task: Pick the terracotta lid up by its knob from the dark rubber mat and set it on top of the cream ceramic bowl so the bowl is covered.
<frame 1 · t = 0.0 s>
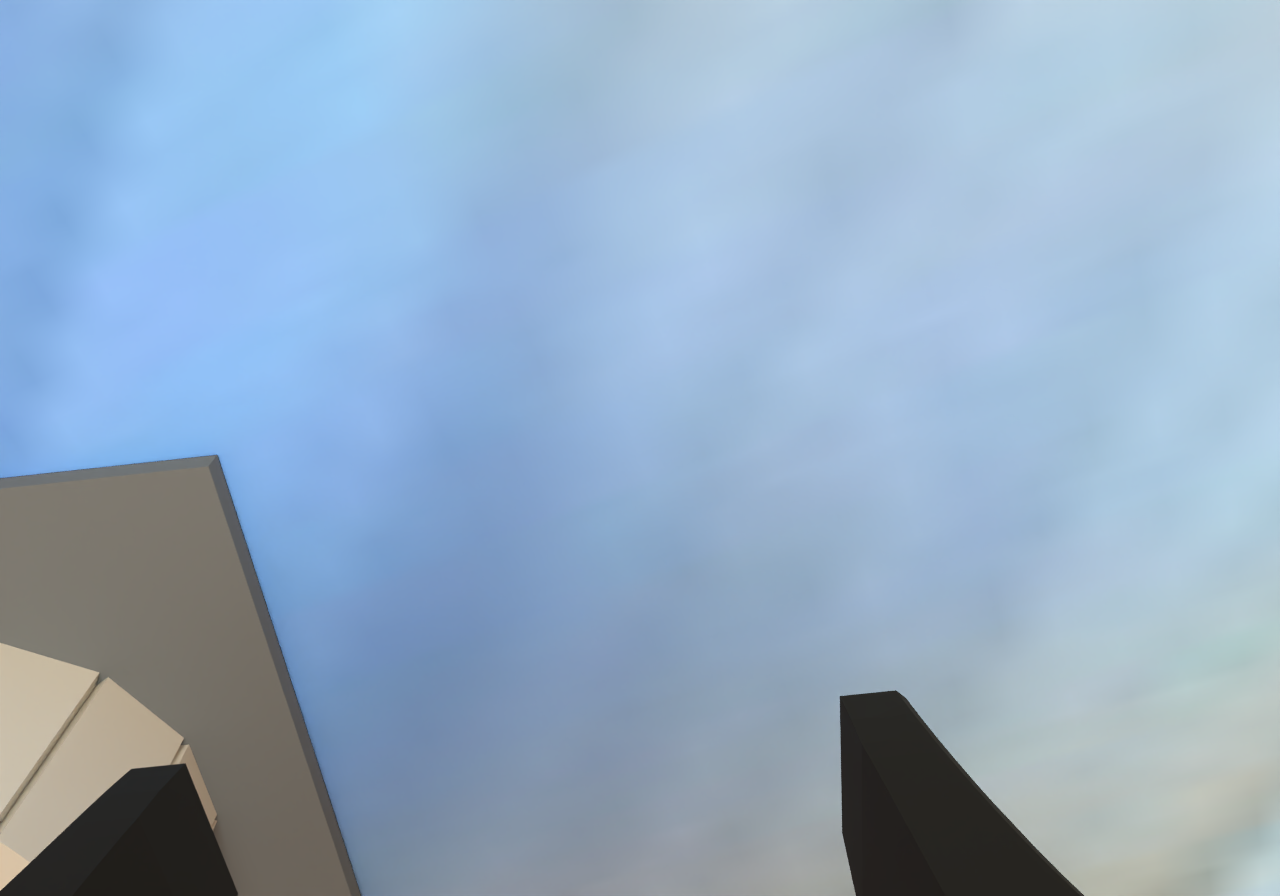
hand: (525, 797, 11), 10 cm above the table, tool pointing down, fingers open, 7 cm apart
bowl: (13, 799, 23), resting on mat
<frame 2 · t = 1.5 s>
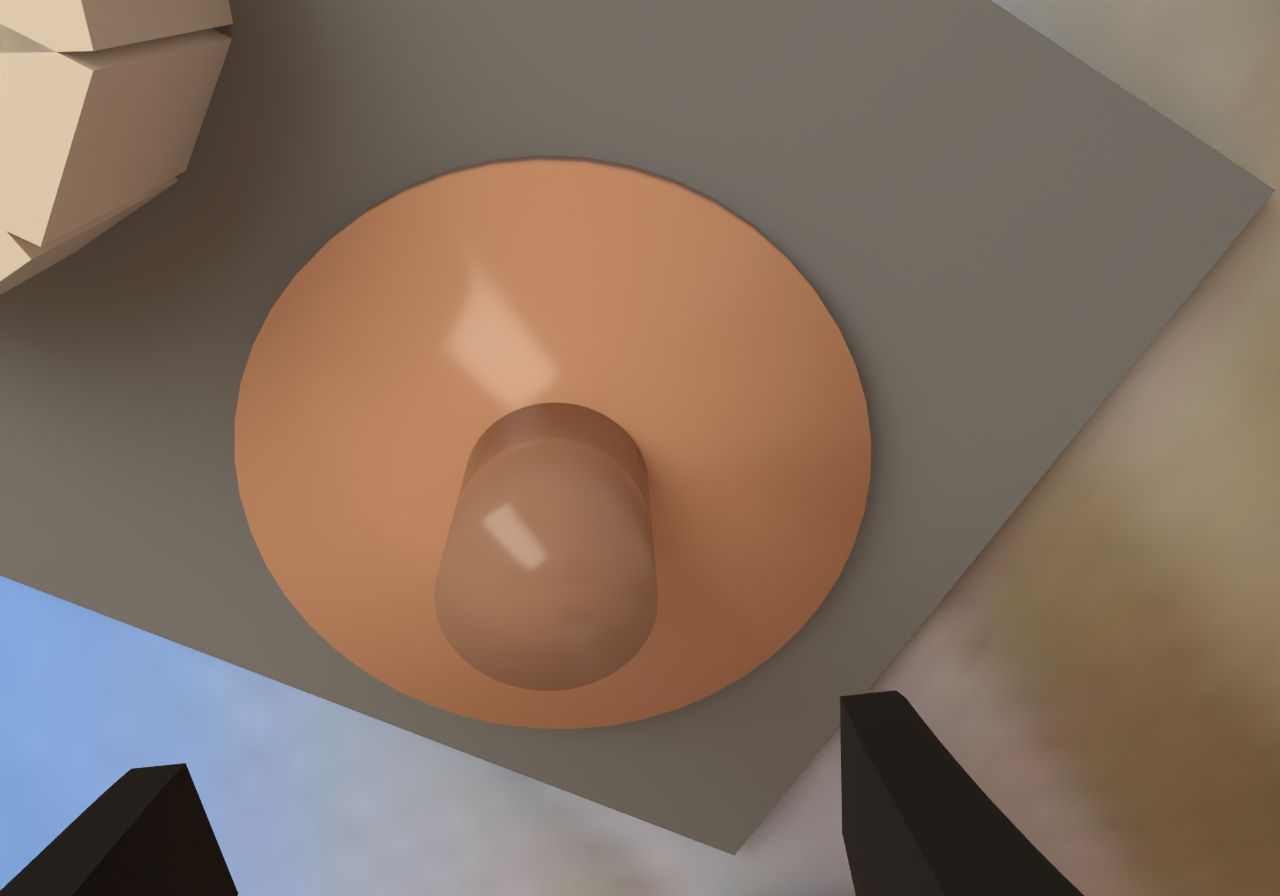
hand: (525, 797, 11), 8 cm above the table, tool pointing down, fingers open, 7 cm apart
mat: (278, 230, 17), on the table
lid: (558, 465, 18), resting on mat
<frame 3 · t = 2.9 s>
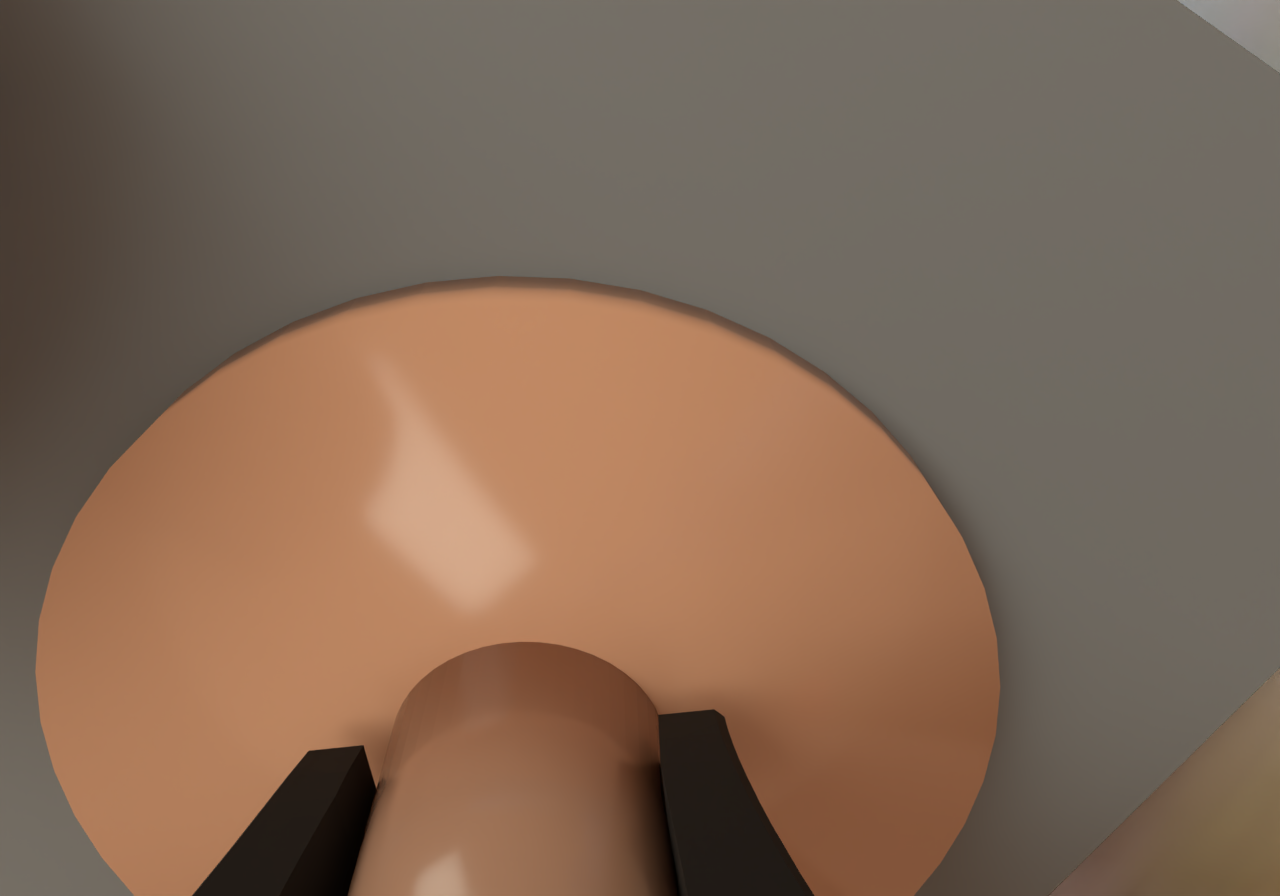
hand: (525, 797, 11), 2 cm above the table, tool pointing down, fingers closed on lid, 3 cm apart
mat: (101, 381, 11), on the table
lid: (533, 706, 12), resting on mat, touching gripper
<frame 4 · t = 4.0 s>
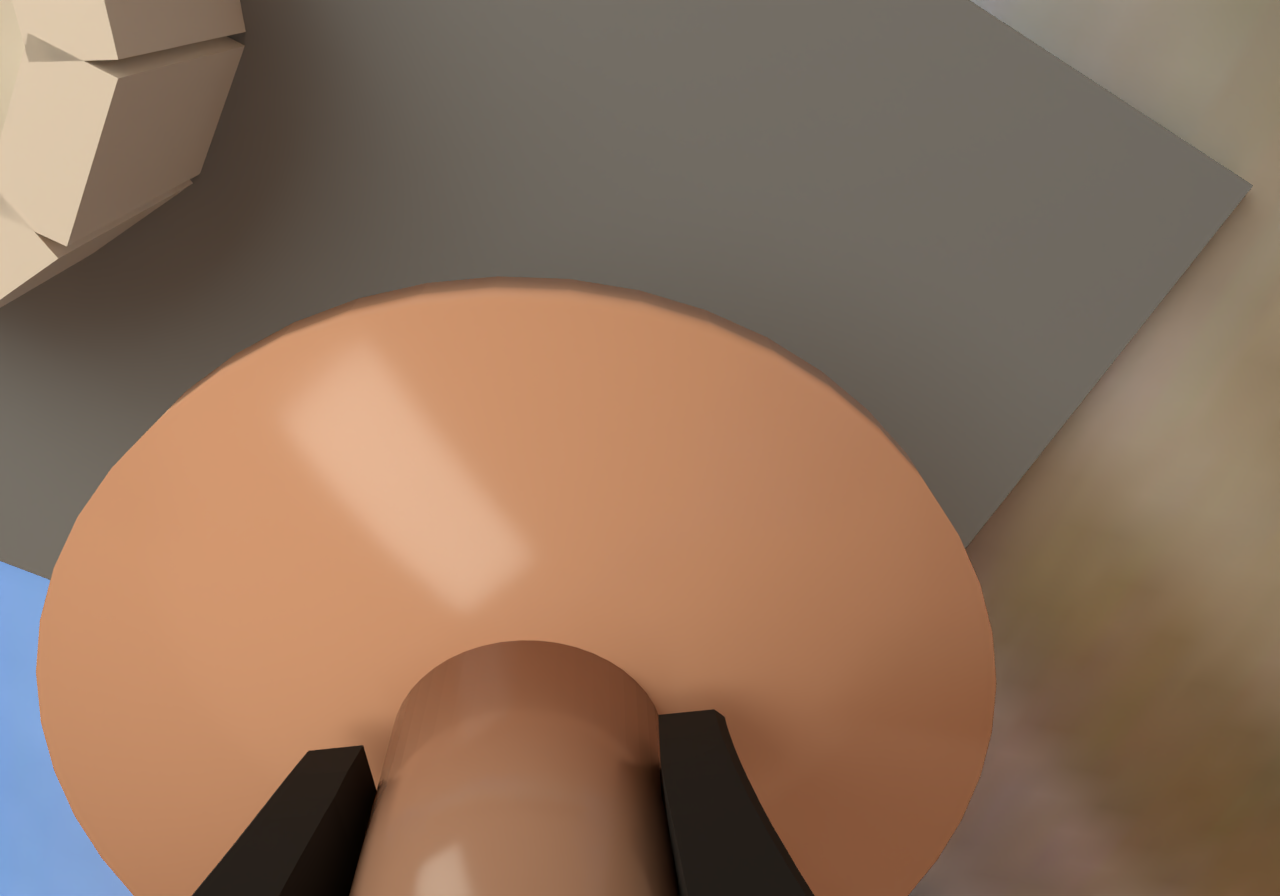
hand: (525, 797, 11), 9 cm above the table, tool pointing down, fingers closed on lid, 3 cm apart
mat: (288, 231, 17), on the table
lid: (533, 705, 13), point 7 cm above the table, touching gripper
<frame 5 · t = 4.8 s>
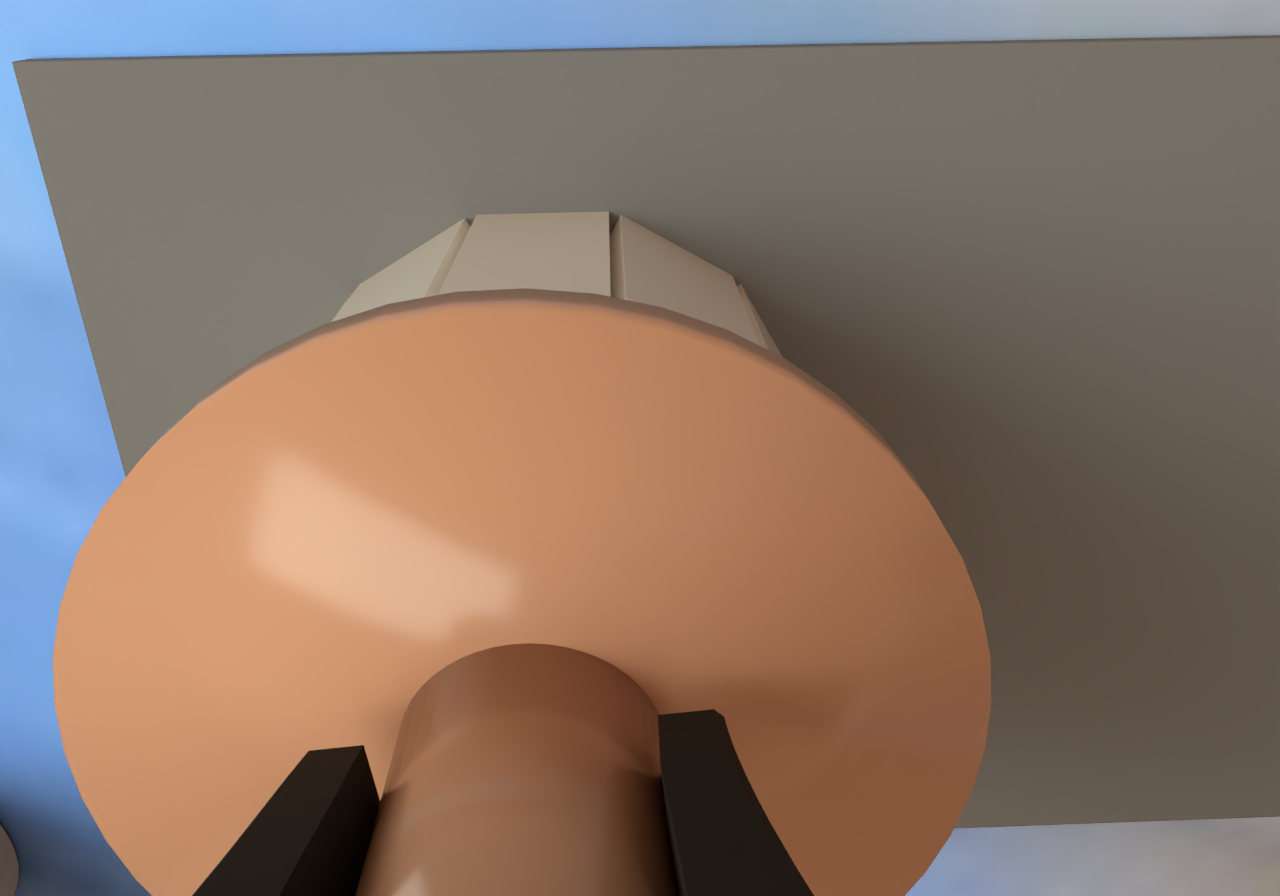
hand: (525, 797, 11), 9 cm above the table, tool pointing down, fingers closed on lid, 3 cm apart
bowl: (556, 454, 19), resting on mat
mat: (863, 502, 20), on the table
lid: (537, 706, 13), point 7 cm above the table, touching gripper
when the fingers open (7 cm above the table, at t = 5.4 s): lid stays where it is, resting on bowl.
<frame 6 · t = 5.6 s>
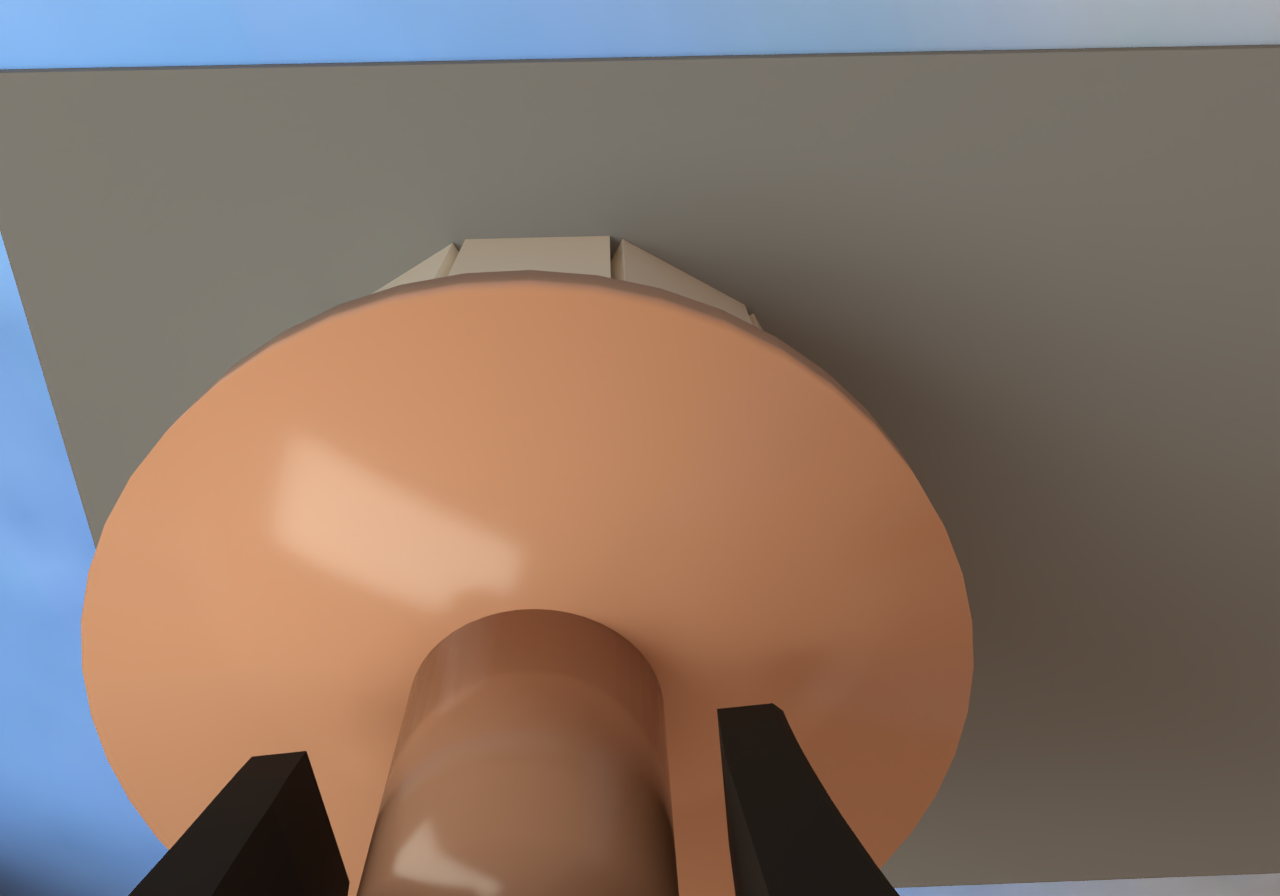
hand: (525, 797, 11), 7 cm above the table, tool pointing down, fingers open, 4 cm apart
bowl: (553, 495, 17), resting on mat
mat: (883, 544, 19), on the table
lid: (540, 672, 13), point 5 cm above the table, touching bowl
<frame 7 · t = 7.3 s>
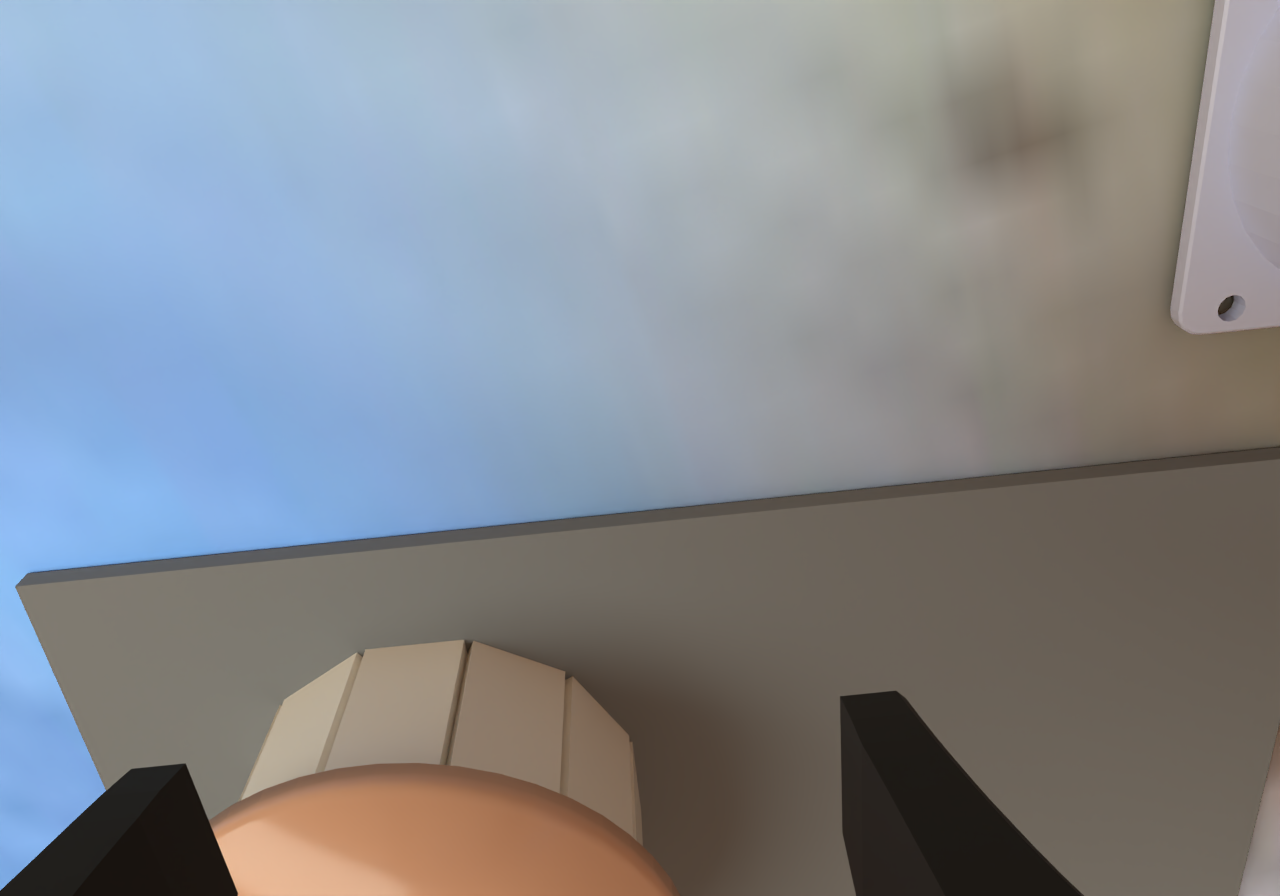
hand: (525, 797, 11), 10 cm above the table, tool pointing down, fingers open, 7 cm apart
bowl: (451, 794, 24), resting on mat
mat: (701, 800, 25), on the table
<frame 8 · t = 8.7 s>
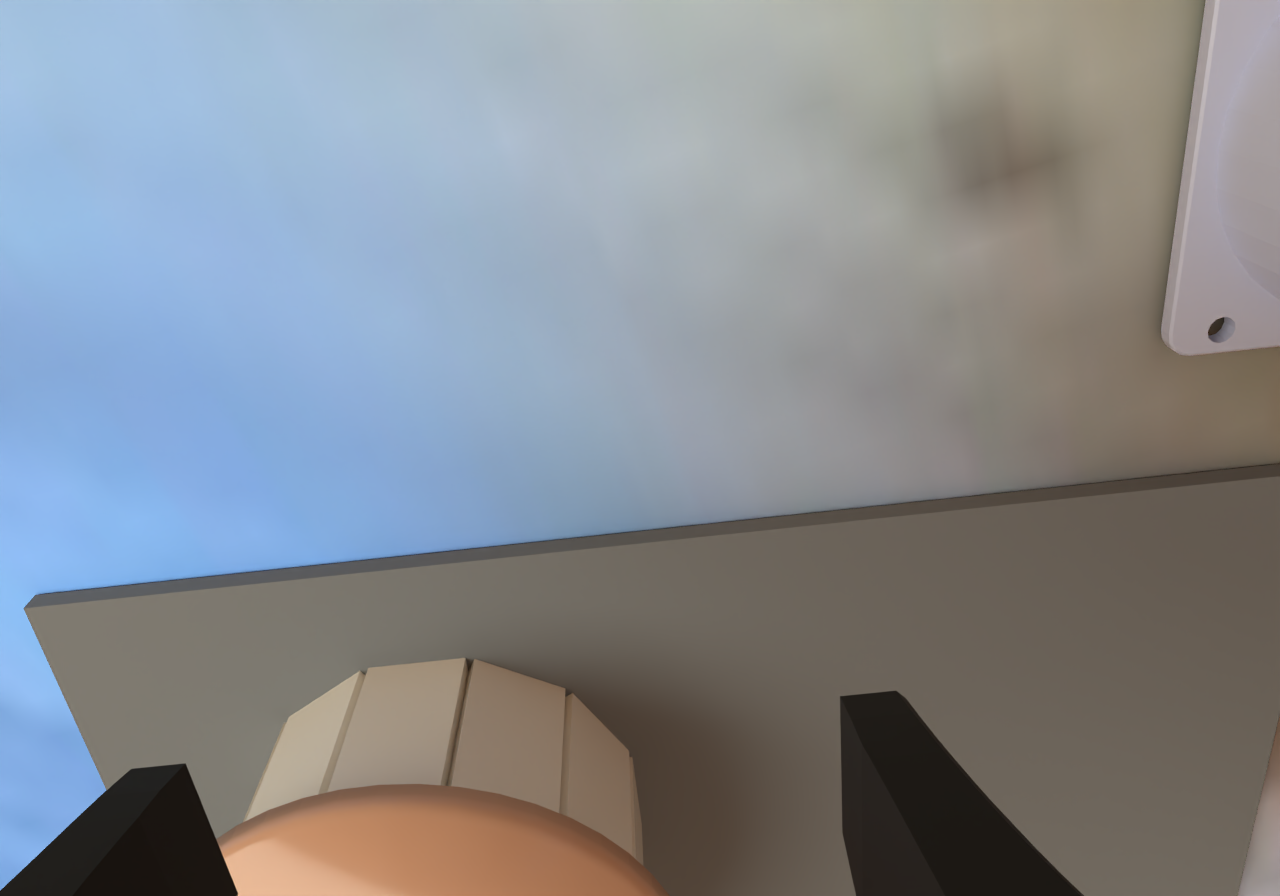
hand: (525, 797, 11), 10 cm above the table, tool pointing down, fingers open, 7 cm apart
bowl: (453, 809, 24), resting on mat
mat: (701, 813, 25), on the table
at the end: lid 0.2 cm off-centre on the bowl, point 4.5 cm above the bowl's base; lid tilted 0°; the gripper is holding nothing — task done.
